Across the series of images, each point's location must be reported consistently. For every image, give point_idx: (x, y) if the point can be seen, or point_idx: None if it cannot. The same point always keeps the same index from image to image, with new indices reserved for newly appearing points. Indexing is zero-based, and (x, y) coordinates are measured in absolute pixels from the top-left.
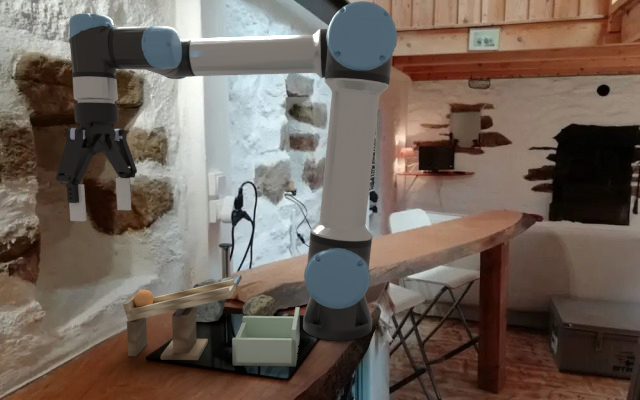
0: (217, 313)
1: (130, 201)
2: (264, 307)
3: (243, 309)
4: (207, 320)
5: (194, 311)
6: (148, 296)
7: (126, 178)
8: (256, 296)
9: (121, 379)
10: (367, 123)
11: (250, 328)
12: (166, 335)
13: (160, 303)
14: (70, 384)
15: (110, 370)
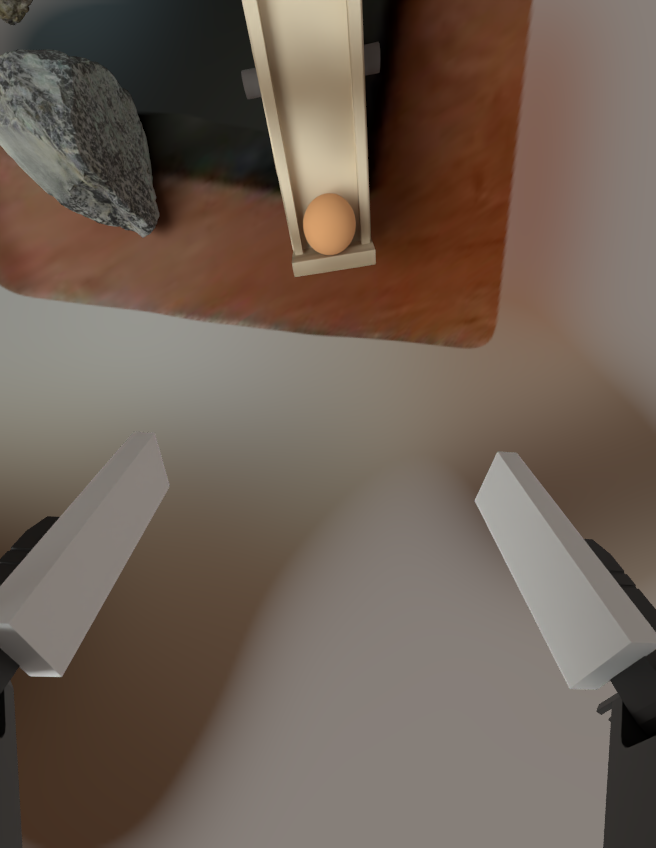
0: (116, 82)
1: (111, 462)
2: None
3: (12, 9)
4: (141, 128)
5: None
6: (341, 200)
7: (13, 628)
8: None
9: (455, 200)
10: None
11: None
12: (248, 214)
13: (365, 138)
14: (469, 286)
15: (419, 246)
